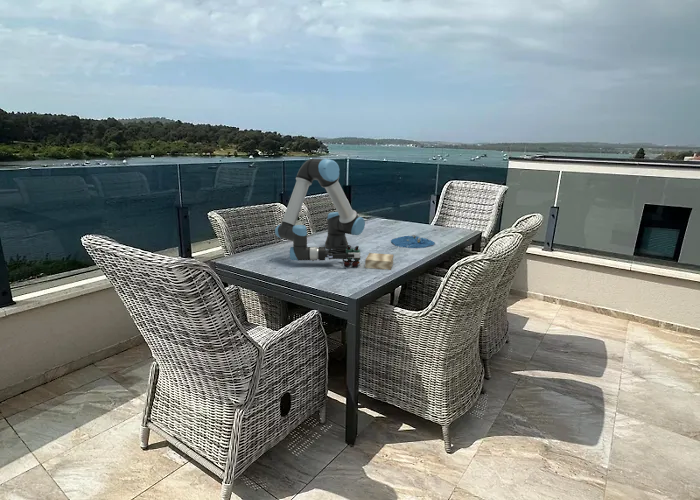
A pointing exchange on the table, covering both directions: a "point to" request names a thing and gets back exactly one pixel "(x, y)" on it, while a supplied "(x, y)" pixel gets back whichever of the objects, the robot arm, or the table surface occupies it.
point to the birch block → (379, 261)
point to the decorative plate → (412, 242)
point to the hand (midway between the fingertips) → (359, 253)
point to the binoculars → (354, 263)
